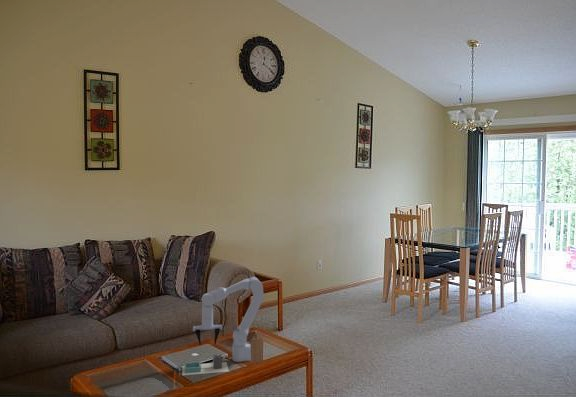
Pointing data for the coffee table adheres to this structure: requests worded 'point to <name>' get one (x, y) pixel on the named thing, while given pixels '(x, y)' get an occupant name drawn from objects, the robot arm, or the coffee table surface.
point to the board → (202, 368)
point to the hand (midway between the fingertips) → (207, 344)
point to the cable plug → (217, 361)
